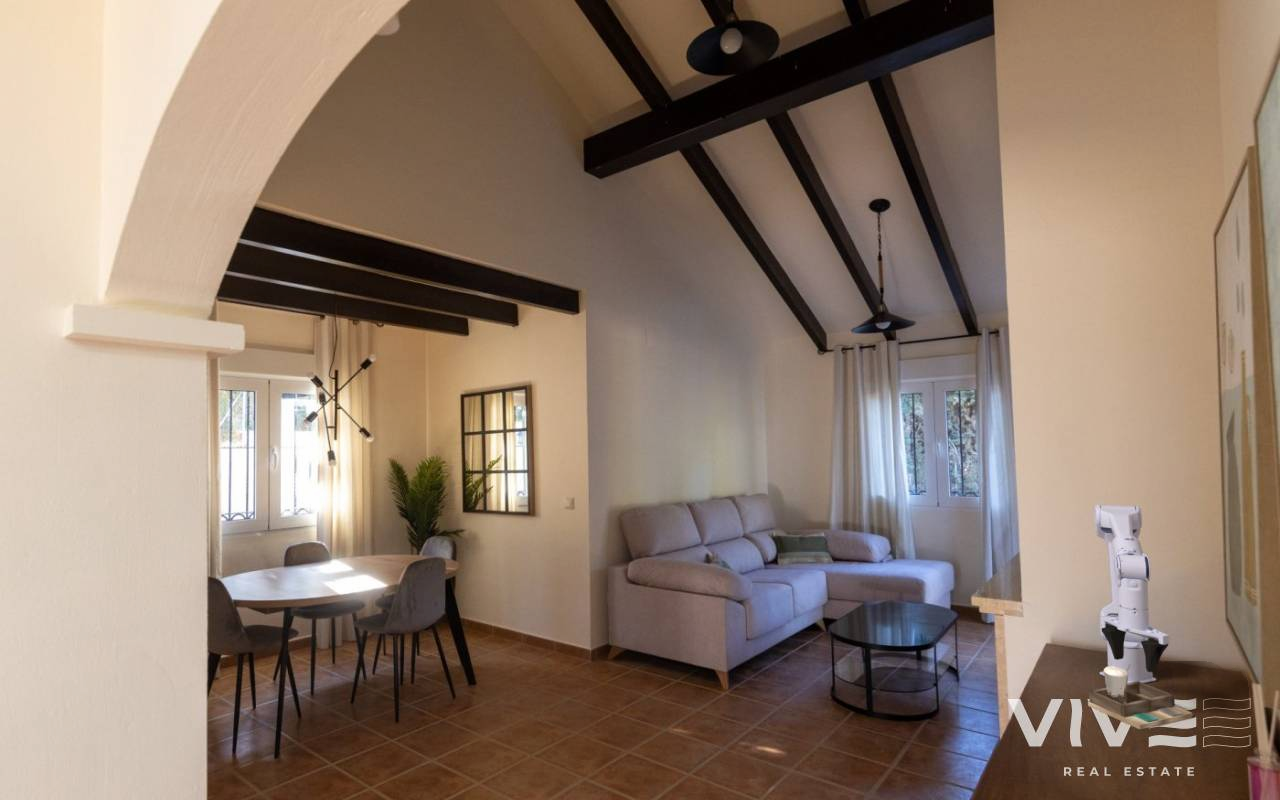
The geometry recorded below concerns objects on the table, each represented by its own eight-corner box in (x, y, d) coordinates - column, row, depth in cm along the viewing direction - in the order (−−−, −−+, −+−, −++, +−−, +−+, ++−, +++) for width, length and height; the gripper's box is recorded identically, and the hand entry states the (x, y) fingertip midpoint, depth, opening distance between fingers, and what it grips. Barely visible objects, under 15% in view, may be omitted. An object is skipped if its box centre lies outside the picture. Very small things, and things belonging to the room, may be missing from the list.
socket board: (1138, 695, 159) (1137, 680, 159) (1192, 717, 148) (1192, 701, 148) (1088, 705, 155) (1087, 690, 155) (1140, 729, 143) (1139, 713, 143)
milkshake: (1137, 712, 149) (1136, 668, 149) (1111, 711, 150) (1110, 667, 150) (1126, 703, 153) (1124, 660, 153) (1100, 702, 154) (1099, 659, 154)
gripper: (1090, 599, 159) (1092, 655, 159) (1152, 618, 145) (1154, 679, 145) (1112, 596, 161) (1114, 651, 161) (1175, 614, 147) (1177, 674, 147)
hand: (1134, 664), depth 153 cm, fingers open, 7 cm apart
